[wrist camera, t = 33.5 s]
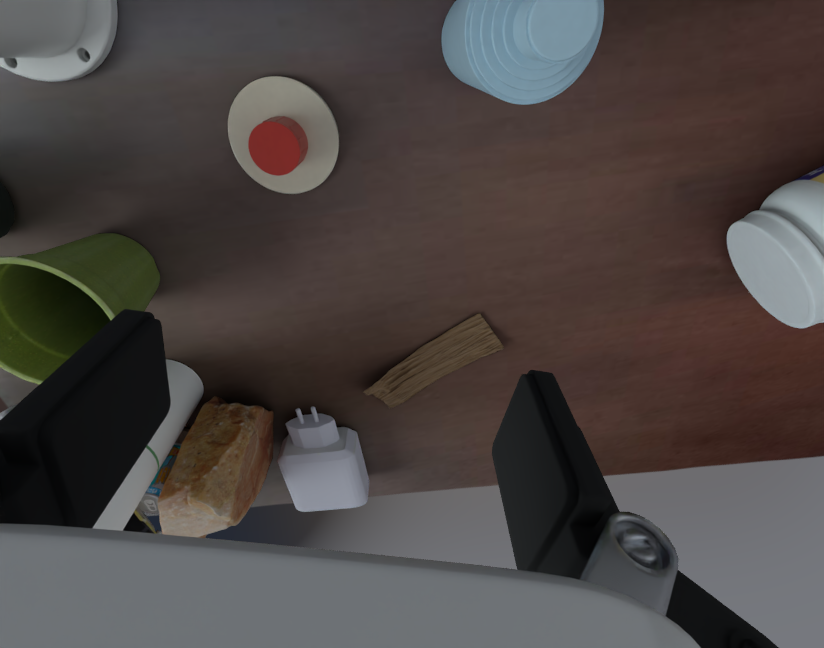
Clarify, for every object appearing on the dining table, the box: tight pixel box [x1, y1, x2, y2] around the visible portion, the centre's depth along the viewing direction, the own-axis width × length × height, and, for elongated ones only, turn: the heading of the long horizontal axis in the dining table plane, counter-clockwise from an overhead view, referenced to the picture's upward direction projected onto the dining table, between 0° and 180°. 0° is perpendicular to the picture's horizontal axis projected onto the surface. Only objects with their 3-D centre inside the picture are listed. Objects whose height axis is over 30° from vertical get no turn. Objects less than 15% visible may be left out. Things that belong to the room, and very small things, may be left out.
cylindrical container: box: [93, 359, 204, 531], centre depth 39 cm, size 7×7×25 cm
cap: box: [248, 116, 308, 176], centre depth 35 cm, size 4×4×3 cm
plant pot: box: [0, 233, 160, 385], centre depth 38 cm, size 12×12×11 cm
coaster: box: [228, 76, 340, 194], centre depth 36 cm, size 9×9×1 cm
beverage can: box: [138, 428, 190, 514], centre depth 53 cm, size 12×12×8 cm
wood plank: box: [363, 313, 504, 408], centre depth 48 cm, size 15×2×5 cm
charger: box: [277, 407, 369, 512], centre depth 53 cm, size 5×9×15 cm
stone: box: [158, 397, 274, 538], centre depth 47 cm, size 14×9×15 cm, turn 156°
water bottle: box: [441, 0, 604, 105], centre depth 25 cm, size 6×6×20 cm
